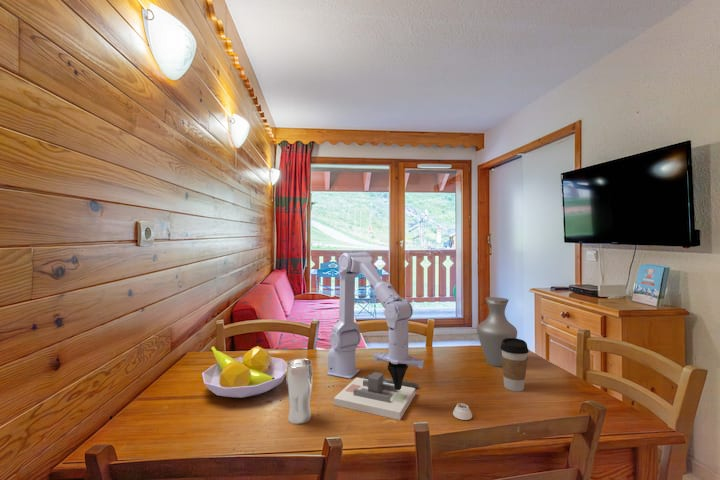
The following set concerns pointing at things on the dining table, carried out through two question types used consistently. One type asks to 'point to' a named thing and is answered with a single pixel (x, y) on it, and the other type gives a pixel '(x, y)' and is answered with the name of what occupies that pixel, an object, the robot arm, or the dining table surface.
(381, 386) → the switch knob
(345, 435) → the dining table surface
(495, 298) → the vase
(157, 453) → the dining table surface
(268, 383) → the fruit bowl
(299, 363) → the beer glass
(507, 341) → the coffee cup
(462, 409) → the lidless jar
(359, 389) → the white board with rails
